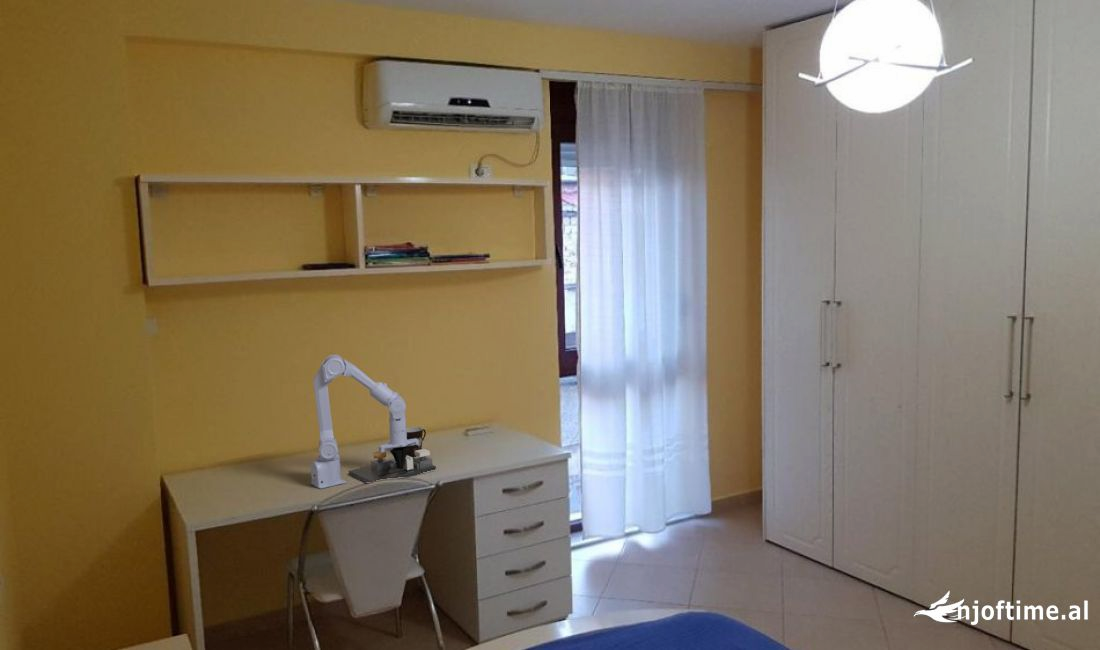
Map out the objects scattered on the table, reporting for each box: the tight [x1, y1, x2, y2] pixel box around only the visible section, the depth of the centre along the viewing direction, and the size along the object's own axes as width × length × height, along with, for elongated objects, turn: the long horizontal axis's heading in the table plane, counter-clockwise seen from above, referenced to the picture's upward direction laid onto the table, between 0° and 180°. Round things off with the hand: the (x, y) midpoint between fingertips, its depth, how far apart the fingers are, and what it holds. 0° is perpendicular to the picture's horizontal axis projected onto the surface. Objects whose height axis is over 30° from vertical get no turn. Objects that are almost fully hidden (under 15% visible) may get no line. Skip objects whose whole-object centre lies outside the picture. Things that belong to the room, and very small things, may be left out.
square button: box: [414, 448, 431, 460], centre depth 296 cm, size 4×4×4 cm
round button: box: [373, 450, 387, 462], centre depth 296 cm, size 4×4×4 cm
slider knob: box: [403, 456, 414, 470], centre depth 292 cm, size 2×4×4 cm, turn 38°
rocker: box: [387, 455, 407, 464], centre depth 300 cm, size 6×4×1 cm, turn 128°
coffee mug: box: [406, 426, 427, 458], centre depth 318 cm, size 12×9×10 cm
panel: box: [348, 456, 437, 483], centre depth 294 cm, size 25×18×4 cm
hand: (400, 468), depth 291 cm, fingers closed
